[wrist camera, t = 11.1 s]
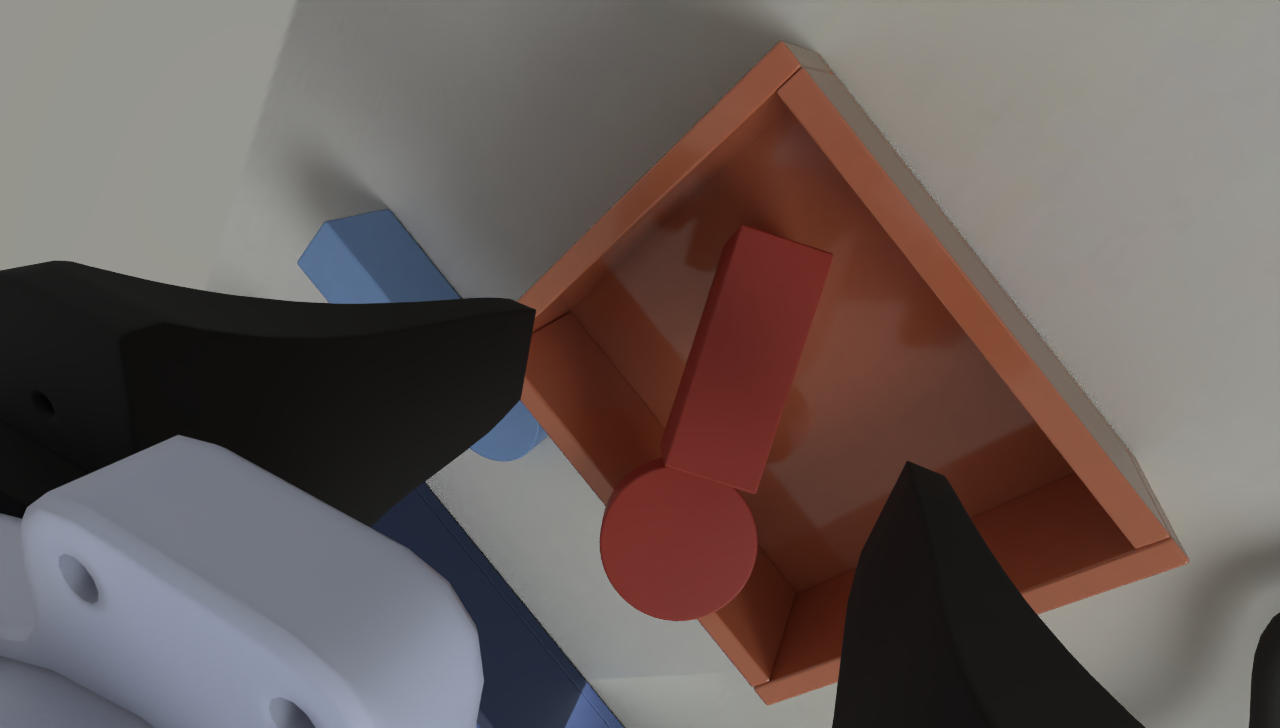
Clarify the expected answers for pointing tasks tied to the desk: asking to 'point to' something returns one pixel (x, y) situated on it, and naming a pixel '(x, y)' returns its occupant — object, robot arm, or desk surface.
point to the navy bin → (497, 627)
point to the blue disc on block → (399, 297)
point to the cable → (1266, 679)
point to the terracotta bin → (836, 372)
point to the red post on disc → (716, 435)
